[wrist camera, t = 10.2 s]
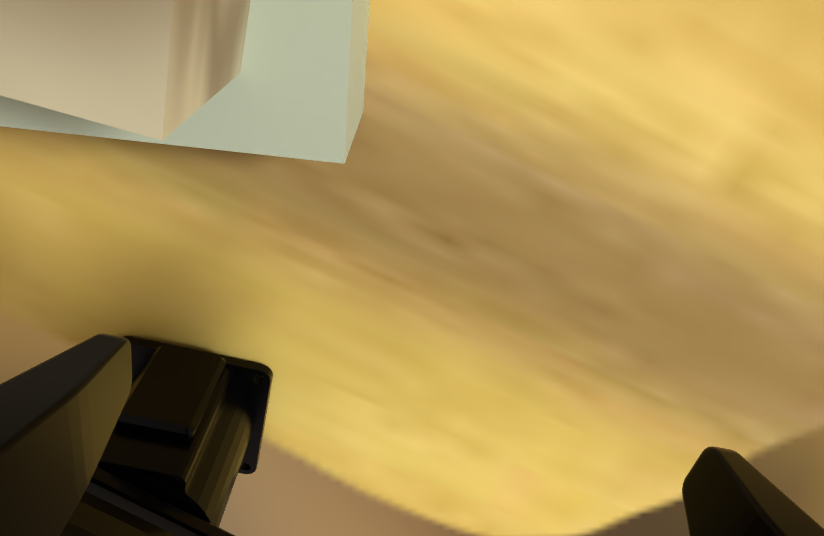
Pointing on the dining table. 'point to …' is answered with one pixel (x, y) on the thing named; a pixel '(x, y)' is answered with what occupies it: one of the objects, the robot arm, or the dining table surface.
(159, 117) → the birch cube
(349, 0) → the sage block
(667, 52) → the dining table surface
